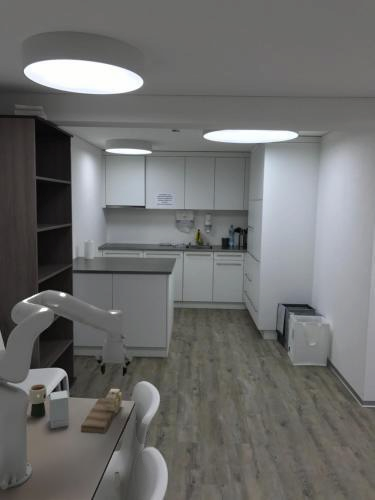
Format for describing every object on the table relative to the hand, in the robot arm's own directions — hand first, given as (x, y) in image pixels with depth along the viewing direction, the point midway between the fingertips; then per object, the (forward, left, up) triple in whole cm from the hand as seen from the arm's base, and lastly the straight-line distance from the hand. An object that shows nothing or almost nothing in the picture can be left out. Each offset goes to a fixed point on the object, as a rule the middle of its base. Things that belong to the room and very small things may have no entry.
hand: (113, 374), depth 178 cm
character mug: (+5, +33, -18) cm, 38 cm away
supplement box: (-4, +24, -18) cm, 30 cm away
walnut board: (-4, +6, -18) cm, 19 cm away
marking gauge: (0, 0, -16) cm, 16 cm away
